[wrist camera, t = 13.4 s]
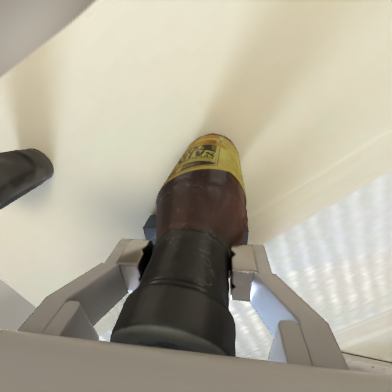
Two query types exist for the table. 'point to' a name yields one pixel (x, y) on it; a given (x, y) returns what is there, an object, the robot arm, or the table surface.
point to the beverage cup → (22, 173)
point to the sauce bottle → (191, 256)
